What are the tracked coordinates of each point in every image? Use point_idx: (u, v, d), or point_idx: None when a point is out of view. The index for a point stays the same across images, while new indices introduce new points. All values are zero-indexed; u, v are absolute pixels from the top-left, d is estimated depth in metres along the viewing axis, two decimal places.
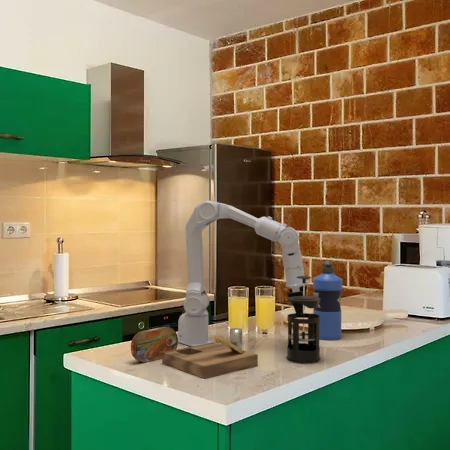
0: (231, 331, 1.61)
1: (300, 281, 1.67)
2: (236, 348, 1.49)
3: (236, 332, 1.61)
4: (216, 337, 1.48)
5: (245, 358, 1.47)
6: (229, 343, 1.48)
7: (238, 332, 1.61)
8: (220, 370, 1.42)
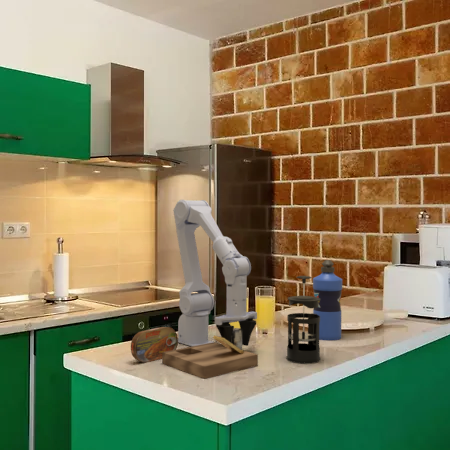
0: None
1: (233, 315, 1.60)
2: (236, 348, 1.49)
3: (236, 332, 1.61)
4: (216, 337, 1.48)
5: (245, 358, 1.47)
6: (229, 343, 1.48)
7: (238, 332, 1.61)
8: (220, 370, 1.42)
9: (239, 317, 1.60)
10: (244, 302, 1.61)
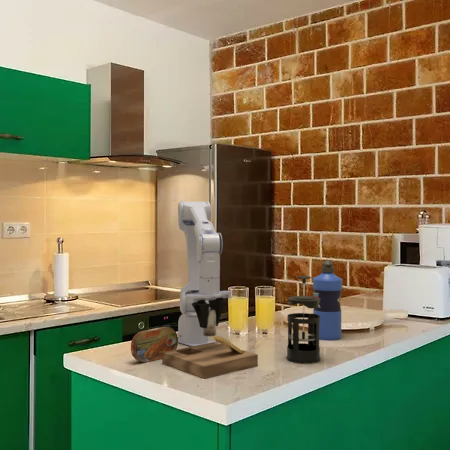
0: None
1: (205, 293, 1.54)
2: (236, 348, 1.49)
3: (210, 312, 1.55)
4: (216, 337, 1.48)
5: (245, 358, 1.47)
6: (229, 343, 1.48)
7: (212, 312, 1.55)
8: (220, 370, 1.42)
9: (212, 295, 1.54)
10: (217, 280, 1.55)
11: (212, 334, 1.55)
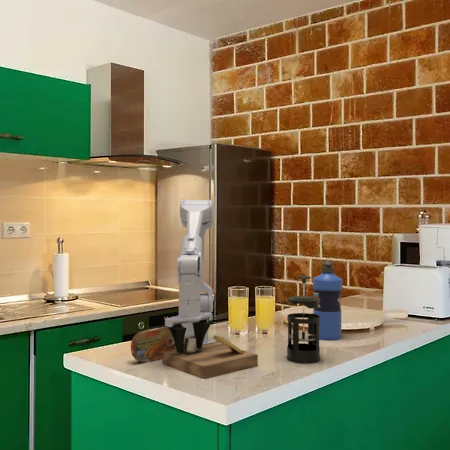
0: (184, 339, 1.52)
1: (185, 316, 1.50)
2: (236, 348, 1.49)
3: (189, 340, 1.51)
4: (216, 337, 1.48)
5: (245, 358, 1.47)
6: (229, 343, 1.48)
7: (192, 340, 1.51)
8: (220, 370, 1.42)
9: (191, 318, 1.50)
10: (197, 302, 1.51)
11: None
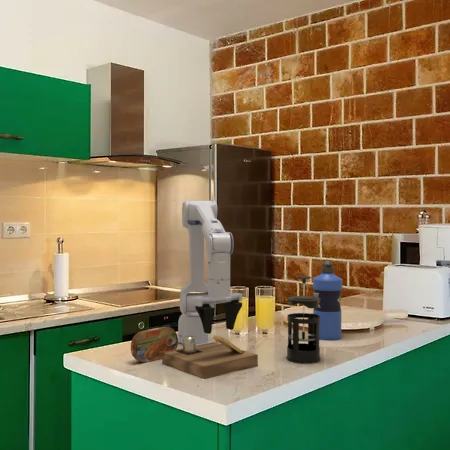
0: (184, 339, 1.52)
1: (215, 296, 1.46)
2: (236, 348, 1.49)
3: (189, 340, 1.51)
4: (216, 337, 1.48)
5: (245, 358, 1.47)
6: (229, 343, 1.48)
7: (192, 340, 1.51)
8: (220, 370, 1.42)
9: (222, 298, 1.45)
10: (227, 282, 1.46)
11: None
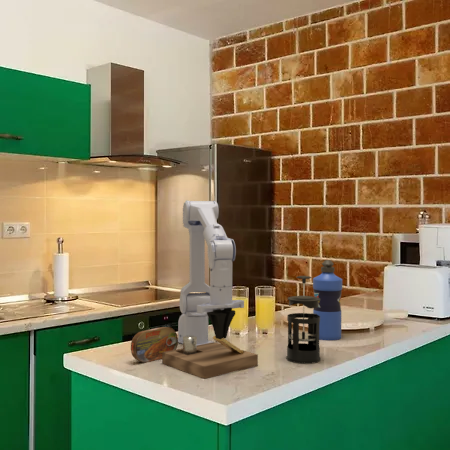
0: (184, 339, 1.52)
1: (217, 303, 1.45)
2: (236, 348, 1.49)
3: (189, 340, 1.51)
4: (216, 338, 1.48)
5: (245, 358, 1.47)
6: (229, 343, 1.48)
7: (192, 340, 1.51)
8: (220, 370, 1.42)
9: (224, 305, 1.45)
10: (229, 289, 1.46)
11: None
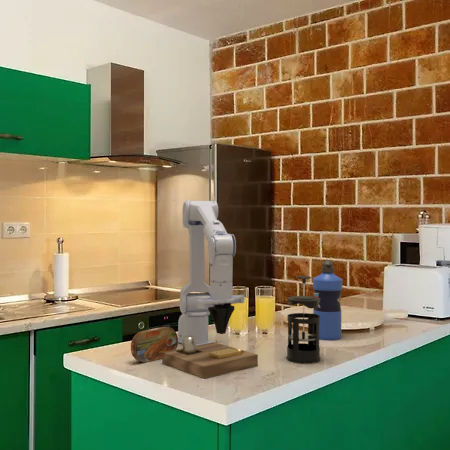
0: (184, 339, 1.52)
1: (217, 298, 1.45)
2: (234, 353, 1.49)
3: (189, 340, 1.51)
4: (211, 355, 1.47)
5: (245, 358, 1.47)
6: (225, 355, 1.47)
7: (192, 340, 1.51)
8: (220, 370, 1.42)
9: (224, 300, 1.45)
10: (230, 284, 1.46)
11: None
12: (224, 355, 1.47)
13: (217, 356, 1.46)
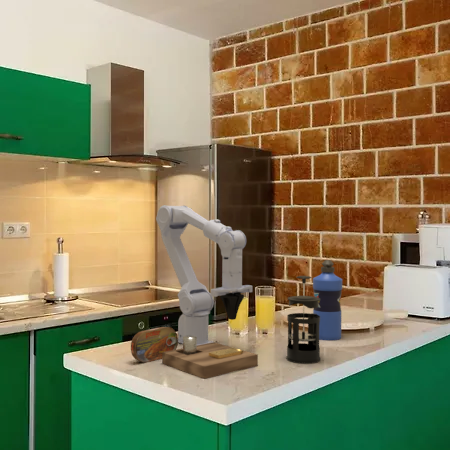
0: (184, 339, 1.52)
1: (229, 287, 1.62)
2: (234, 353, 1.49)
3: (189, 340, 1.51)
4: (211, 355, 1.47)
5: (245, 358, 1.47)
6: (225, 355, 1.47)
7: (192, 340, 1.51)
8: (220, 370, 1.42)
9: (234, 289, 1.62)
10: (239, 275, 1.63)
11: None
12: (224, 355, 1.47)
13: (217, 356, 1.46)
